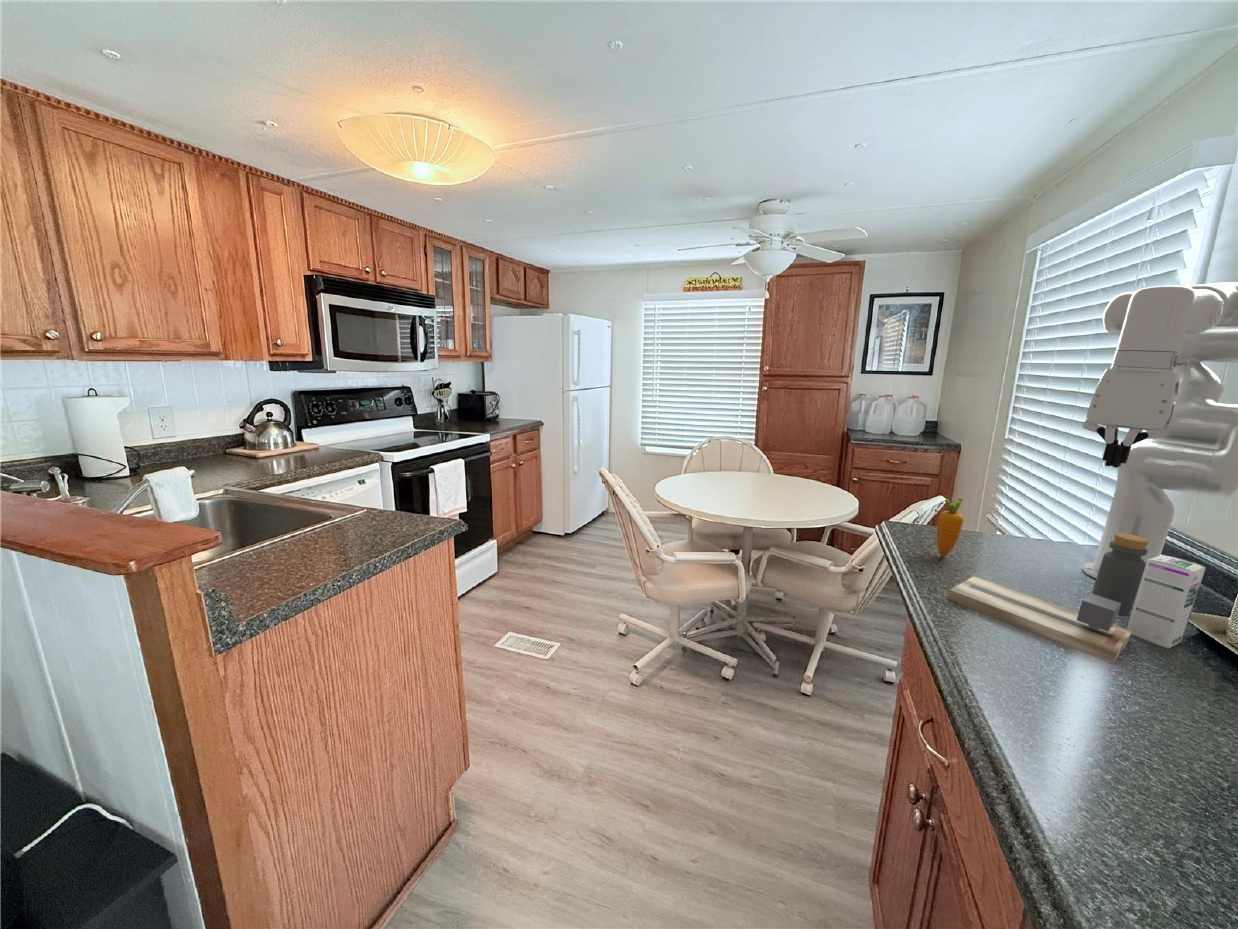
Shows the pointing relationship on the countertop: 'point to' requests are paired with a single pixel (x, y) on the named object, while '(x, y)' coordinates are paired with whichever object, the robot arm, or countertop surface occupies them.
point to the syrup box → (1165, 600)
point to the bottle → (1122, 571)
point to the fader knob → (1098, 612)
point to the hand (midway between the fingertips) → (1112, 465)
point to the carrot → (949, 528)
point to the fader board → (1040, 618)
